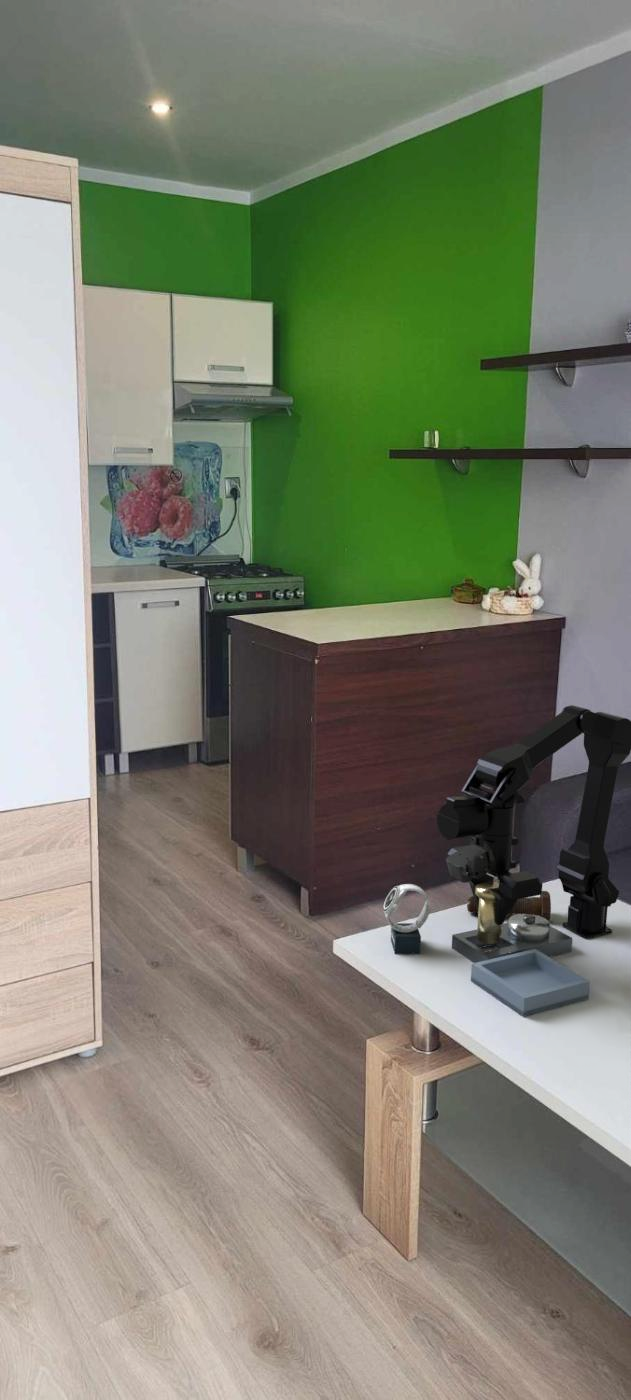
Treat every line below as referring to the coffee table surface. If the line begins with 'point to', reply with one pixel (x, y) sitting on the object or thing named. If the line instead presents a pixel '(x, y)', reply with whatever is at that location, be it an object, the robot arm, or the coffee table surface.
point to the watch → (405, 934)
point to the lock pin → (487, 914)
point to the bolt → (525, 906)
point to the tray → (530, 982)
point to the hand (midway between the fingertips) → (490, 919)
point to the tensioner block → (515, 939)
